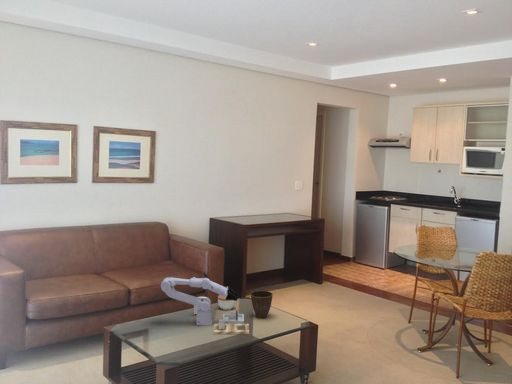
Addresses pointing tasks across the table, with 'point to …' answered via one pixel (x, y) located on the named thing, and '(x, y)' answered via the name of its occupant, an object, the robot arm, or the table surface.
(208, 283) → the robot arm
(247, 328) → the wooden frame board
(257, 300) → the plant pot
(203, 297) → the photo printer
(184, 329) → the table surface
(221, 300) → the lidded bowl
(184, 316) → the table surface
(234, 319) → the loose billet
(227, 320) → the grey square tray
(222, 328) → the block
